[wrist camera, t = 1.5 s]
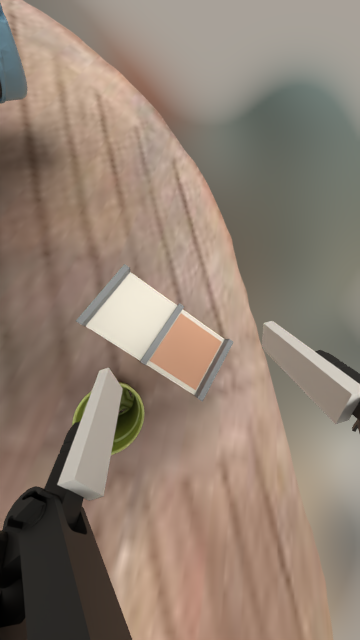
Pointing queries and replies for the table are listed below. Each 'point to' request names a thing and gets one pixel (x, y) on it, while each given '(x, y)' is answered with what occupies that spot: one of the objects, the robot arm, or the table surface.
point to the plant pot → (121, 417)
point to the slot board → (157, 332)
